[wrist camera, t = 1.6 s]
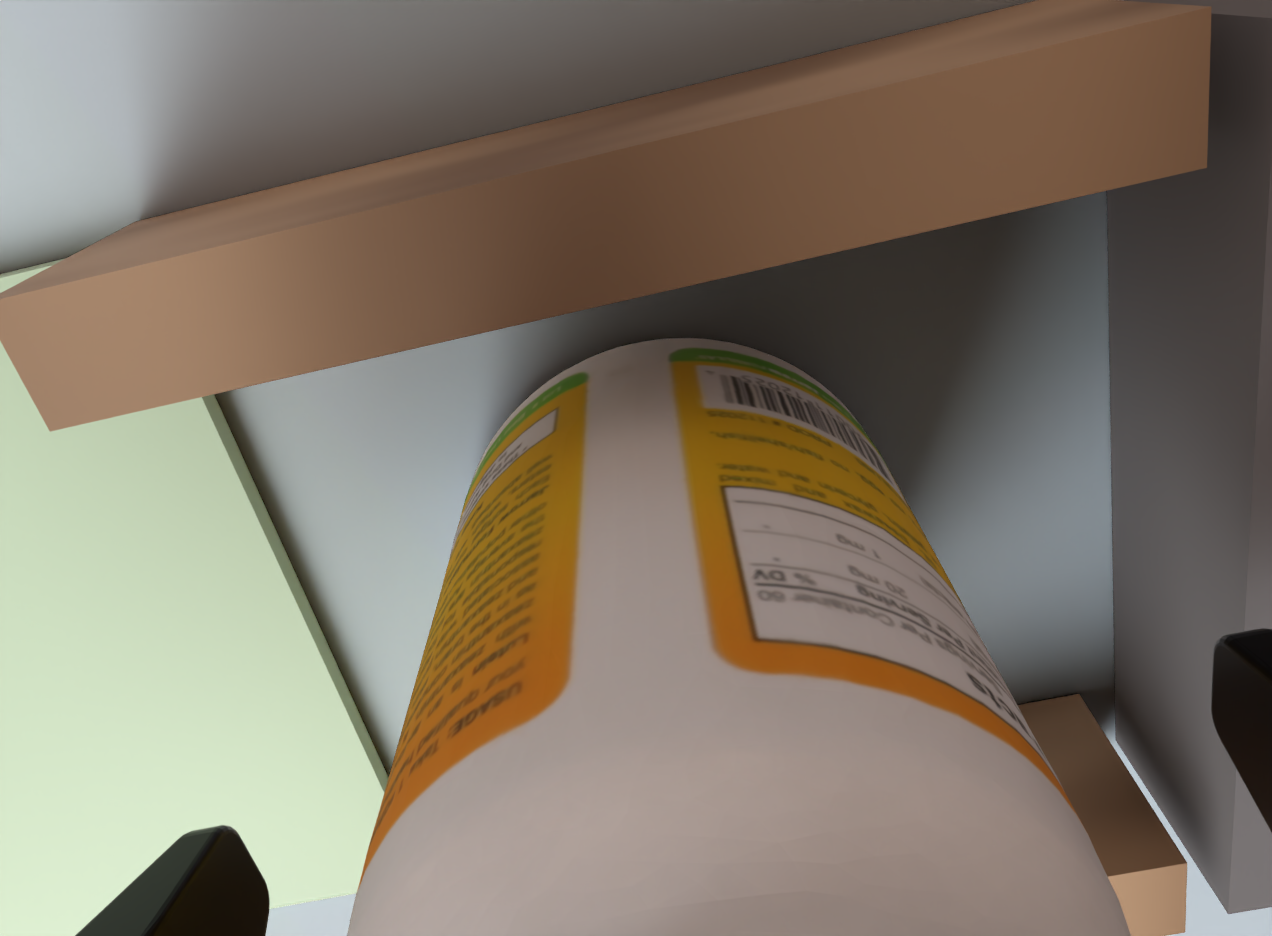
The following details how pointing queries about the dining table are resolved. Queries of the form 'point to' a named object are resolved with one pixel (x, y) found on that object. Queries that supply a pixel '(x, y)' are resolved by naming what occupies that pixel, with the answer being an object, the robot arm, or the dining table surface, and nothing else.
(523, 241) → the walnut trough
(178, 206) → the dining table surface
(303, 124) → the dining table surface
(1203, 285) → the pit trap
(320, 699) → the pad
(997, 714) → the supplement bottle
